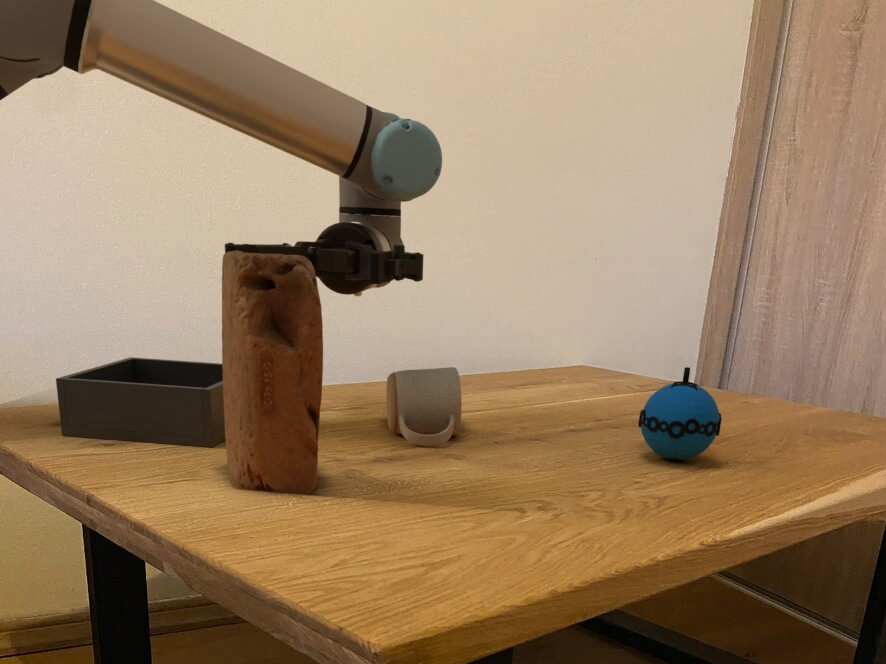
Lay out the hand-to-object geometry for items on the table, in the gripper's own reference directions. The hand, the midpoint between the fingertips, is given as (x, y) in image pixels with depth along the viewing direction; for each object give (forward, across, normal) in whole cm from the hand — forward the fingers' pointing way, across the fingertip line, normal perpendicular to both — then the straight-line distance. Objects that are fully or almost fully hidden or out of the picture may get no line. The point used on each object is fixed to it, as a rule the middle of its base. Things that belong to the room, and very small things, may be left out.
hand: (302, 264), depth 86 cm
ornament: (-14, -38, -19) cm, 45 cm away
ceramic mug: (-16, -10, -19) cm, 27 cm away
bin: (-12, +19, -19) cm, 29 cm away
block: (+10, 0, -19) cm, 21 cm away
